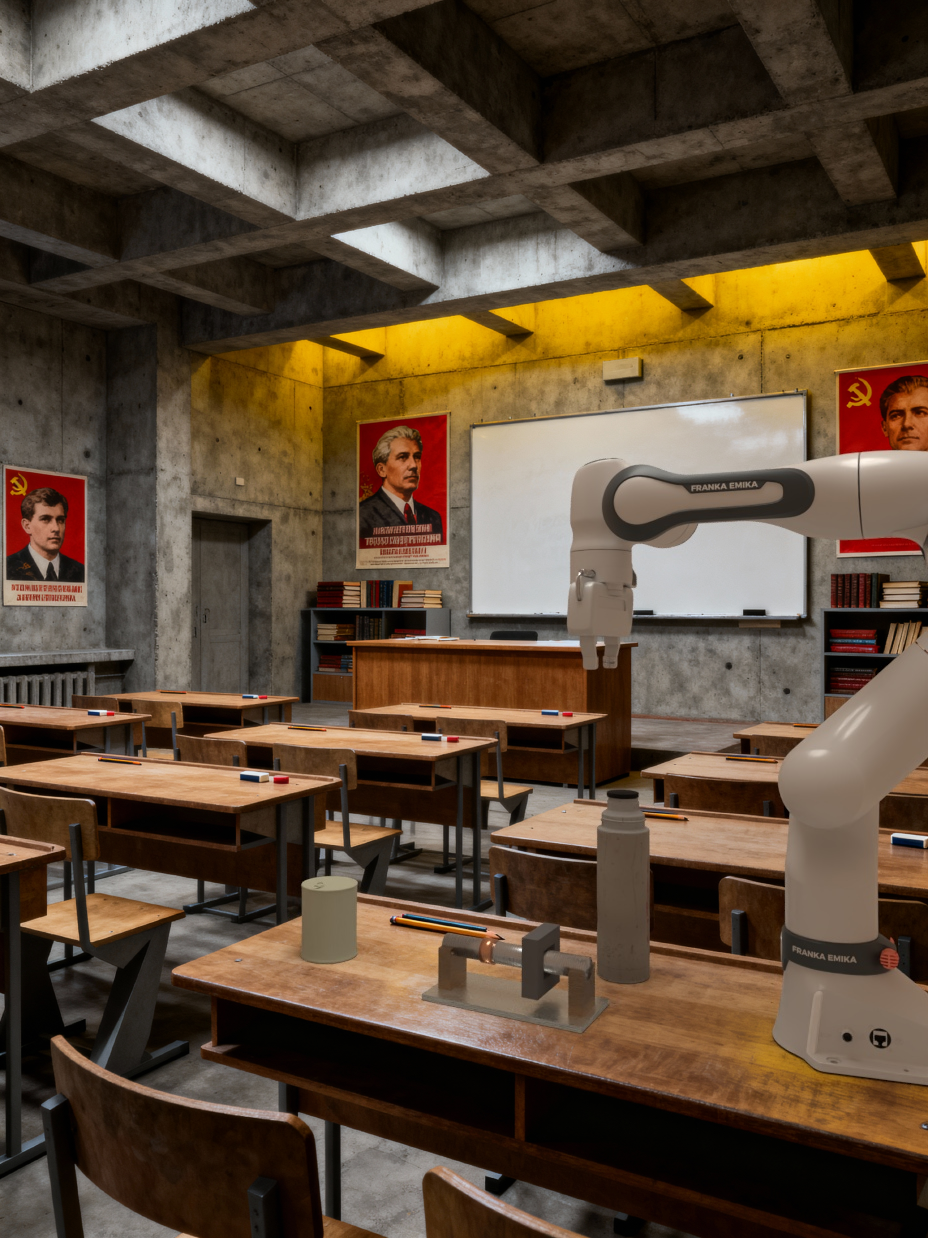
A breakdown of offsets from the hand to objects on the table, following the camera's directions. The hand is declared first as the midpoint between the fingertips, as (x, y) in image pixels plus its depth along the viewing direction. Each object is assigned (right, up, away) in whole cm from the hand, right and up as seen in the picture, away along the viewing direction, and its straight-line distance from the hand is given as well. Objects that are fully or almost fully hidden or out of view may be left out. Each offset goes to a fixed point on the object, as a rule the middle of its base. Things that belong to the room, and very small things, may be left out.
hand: (600, 668), depth 133 cm
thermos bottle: (+5, -48, +9) cm, 49 cm away
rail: (-12, -47, -3) cm, 49 cm away
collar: (-9, -44, -4) cm, 45 cm away
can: (-42, -48, +17) cm, 65 cm away
